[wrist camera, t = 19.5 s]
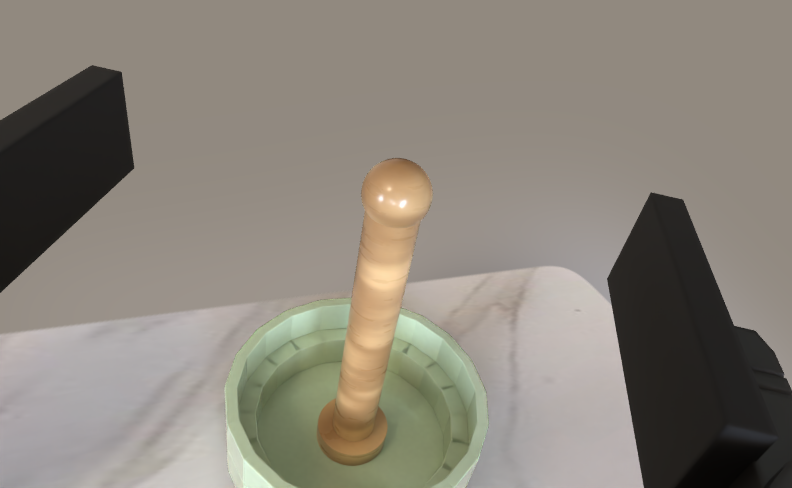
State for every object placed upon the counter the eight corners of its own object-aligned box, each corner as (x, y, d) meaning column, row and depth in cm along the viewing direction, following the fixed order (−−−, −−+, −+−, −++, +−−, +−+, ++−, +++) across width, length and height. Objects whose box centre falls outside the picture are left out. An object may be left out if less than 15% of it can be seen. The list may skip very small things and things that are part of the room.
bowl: (509, 441, 40) (533, 391, 37) (359, 632, 30) (374, 586, 27) (344, 319, 47) (351, 267, 43) (174, 442, 36) (167, 386, 33)
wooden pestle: (398, 434, 38) (472, 169, 26) (353, 480, 35) (412, 204, 23) (348, 394, 40) (395, 128, 28) (301, 434, 37) (330, 157, 25)
